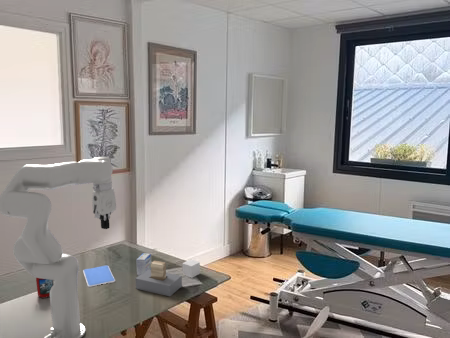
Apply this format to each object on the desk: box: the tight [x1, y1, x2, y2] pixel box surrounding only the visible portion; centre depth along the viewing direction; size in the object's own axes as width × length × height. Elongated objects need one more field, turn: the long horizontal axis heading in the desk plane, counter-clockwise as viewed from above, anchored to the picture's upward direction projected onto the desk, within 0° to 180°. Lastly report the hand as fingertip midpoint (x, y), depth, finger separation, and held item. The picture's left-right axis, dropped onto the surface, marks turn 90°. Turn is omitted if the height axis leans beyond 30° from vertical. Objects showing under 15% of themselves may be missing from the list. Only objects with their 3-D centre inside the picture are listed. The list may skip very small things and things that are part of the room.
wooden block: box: [151, 260, 167, 281], centre depth 188 cm, size 3×6×12 cm, turn 66°
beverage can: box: [35, 277, 54, 299], centre depth 182 cm, size 7×7×12 cm
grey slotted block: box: [135, 269, 183, 297], centre depth 189 cm, size 10×18×5 cm, turn 66°
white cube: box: [181, 259, 201, 279], centre depth 202 cm, size 6×6×6 cm
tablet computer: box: [82, 265, 116, 288], centre depth 201 cm, size 19×13×1 cm, turn 26°
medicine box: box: [135, 252, 152, 277], centre depth 203 cm, size 8×4×9 cm, turn 168°
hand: (105, 228), depth 176 cm, fingers closed
